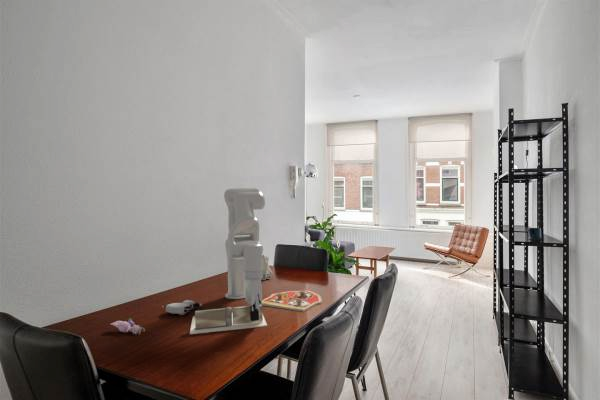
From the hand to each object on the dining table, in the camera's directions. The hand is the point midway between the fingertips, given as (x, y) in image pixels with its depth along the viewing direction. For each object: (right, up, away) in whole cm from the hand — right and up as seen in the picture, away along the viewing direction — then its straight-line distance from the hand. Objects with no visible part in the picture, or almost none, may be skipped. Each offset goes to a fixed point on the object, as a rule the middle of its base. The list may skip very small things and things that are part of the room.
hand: (254, 319), depth 142 cm
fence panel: (-3, -2, +3) cm, 5 cm away
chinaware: (-8, -3, +84) cm, 85 cm away
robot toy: (-36, -4, +22) cm, 42 cm away
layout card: (-12, -3, +7) cm, 14 cm away
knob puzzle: (+16, -3, +37) cm, 40 cm away
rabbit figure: (-50, -5, -2) cm, 51 cm away
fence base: (-16, -3, 0) cm, 17 cm away
